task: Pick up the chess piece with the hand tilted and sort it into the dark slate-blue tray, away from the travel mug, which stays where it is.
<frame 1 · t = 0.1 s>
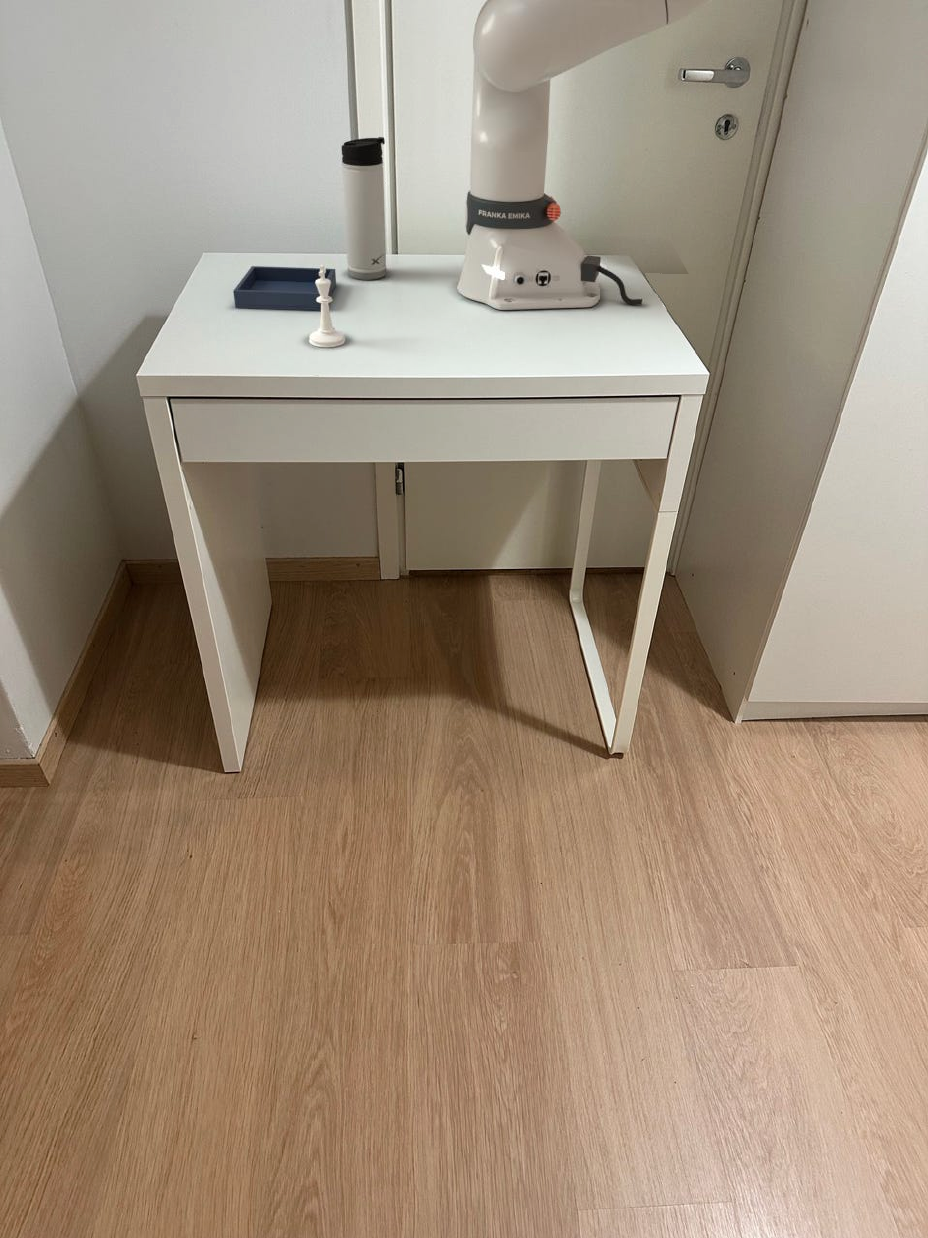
travel mug: (368, 275, 144), on the table
tray: (287, 295, 135), on the table
chess piece: (327, 342, 121), on the table
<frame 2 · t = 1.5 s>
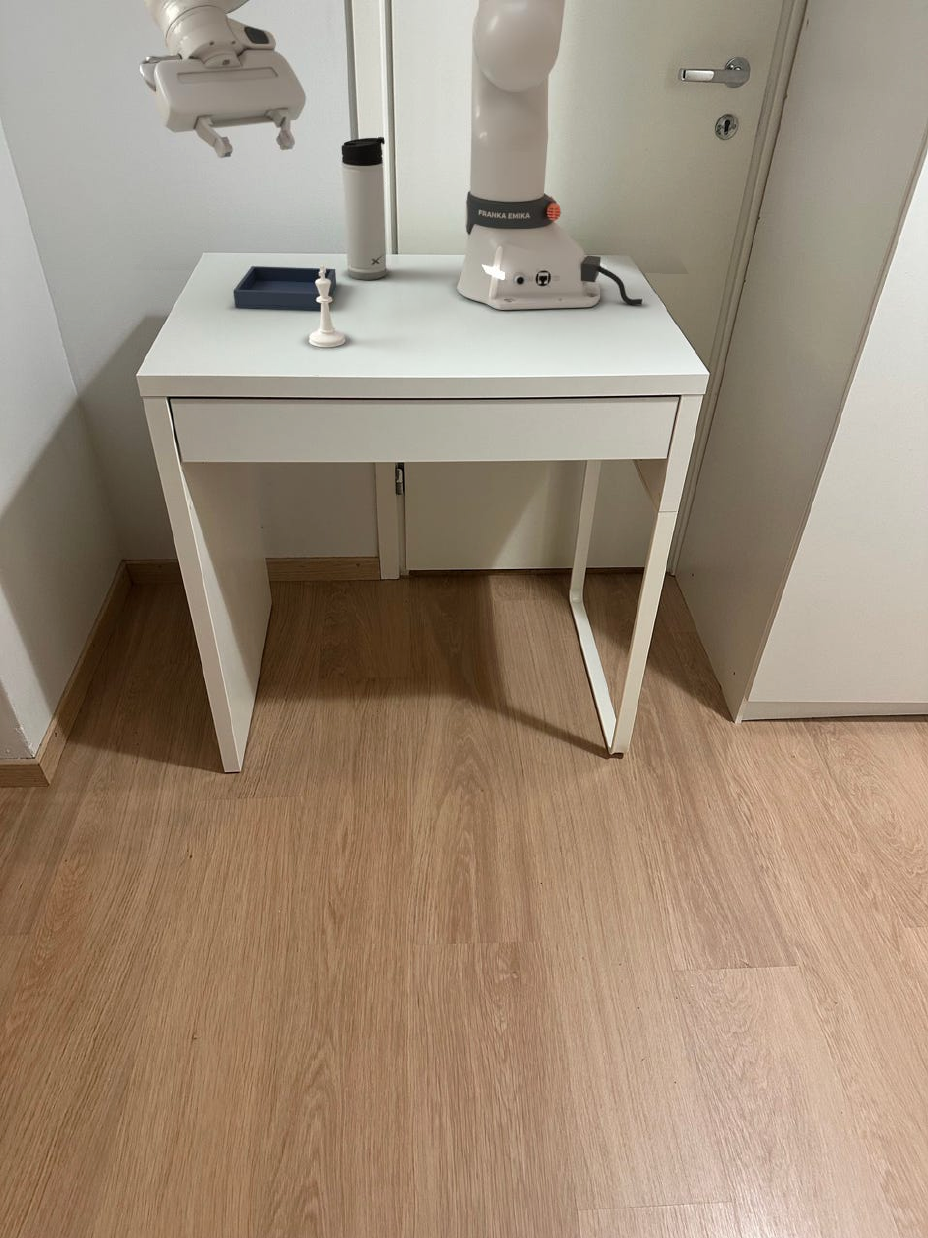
hand: (258, 150, 114), 22 cm above the table, tool tilted 45°, fingers open, 8 cm apart
nothing on the table moved.
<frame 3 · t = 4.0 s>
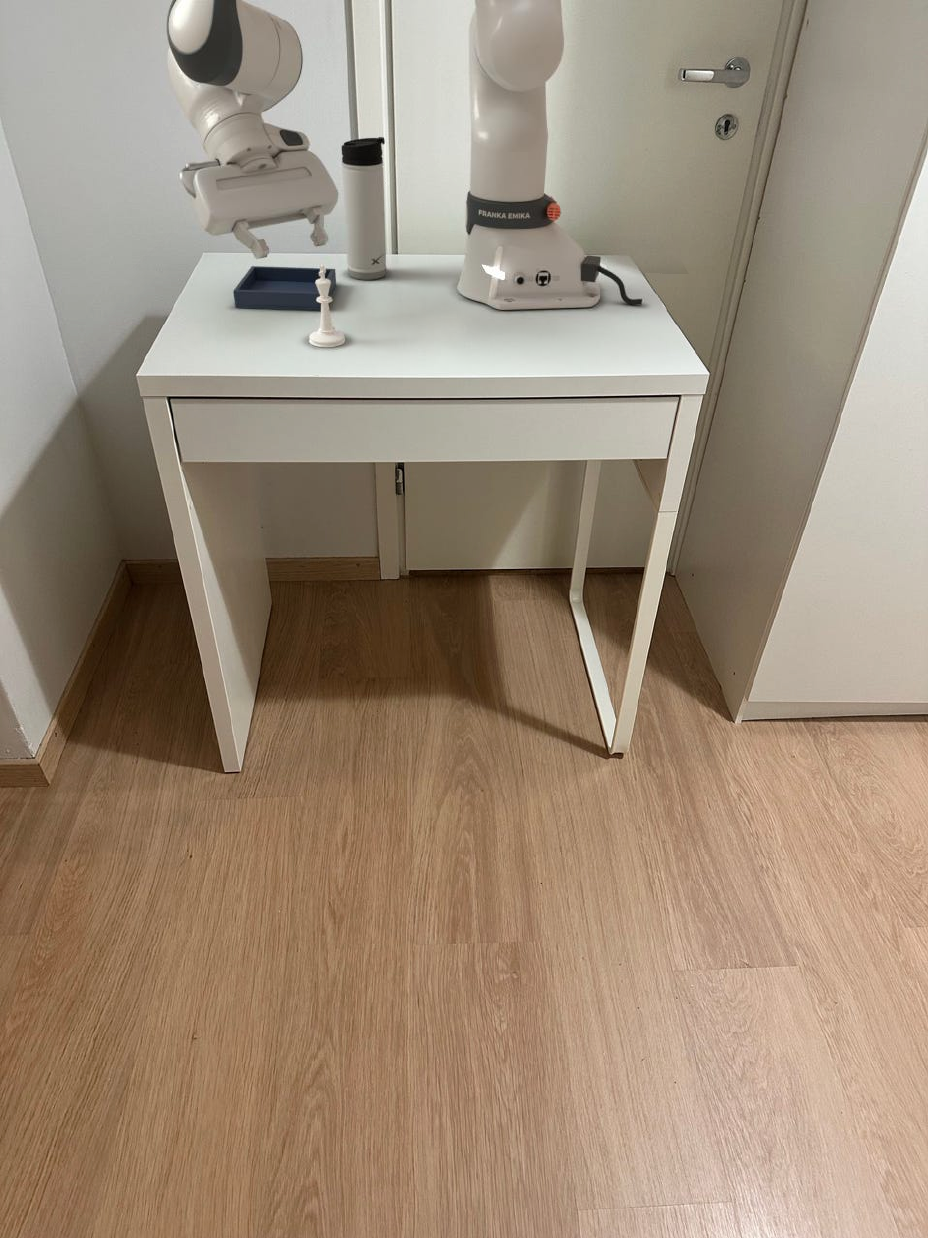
hand: (293, 249, 118), 11 cm above the table, tool tilted 45°, fingers open, 8 cm apart
nothing on the table moved.
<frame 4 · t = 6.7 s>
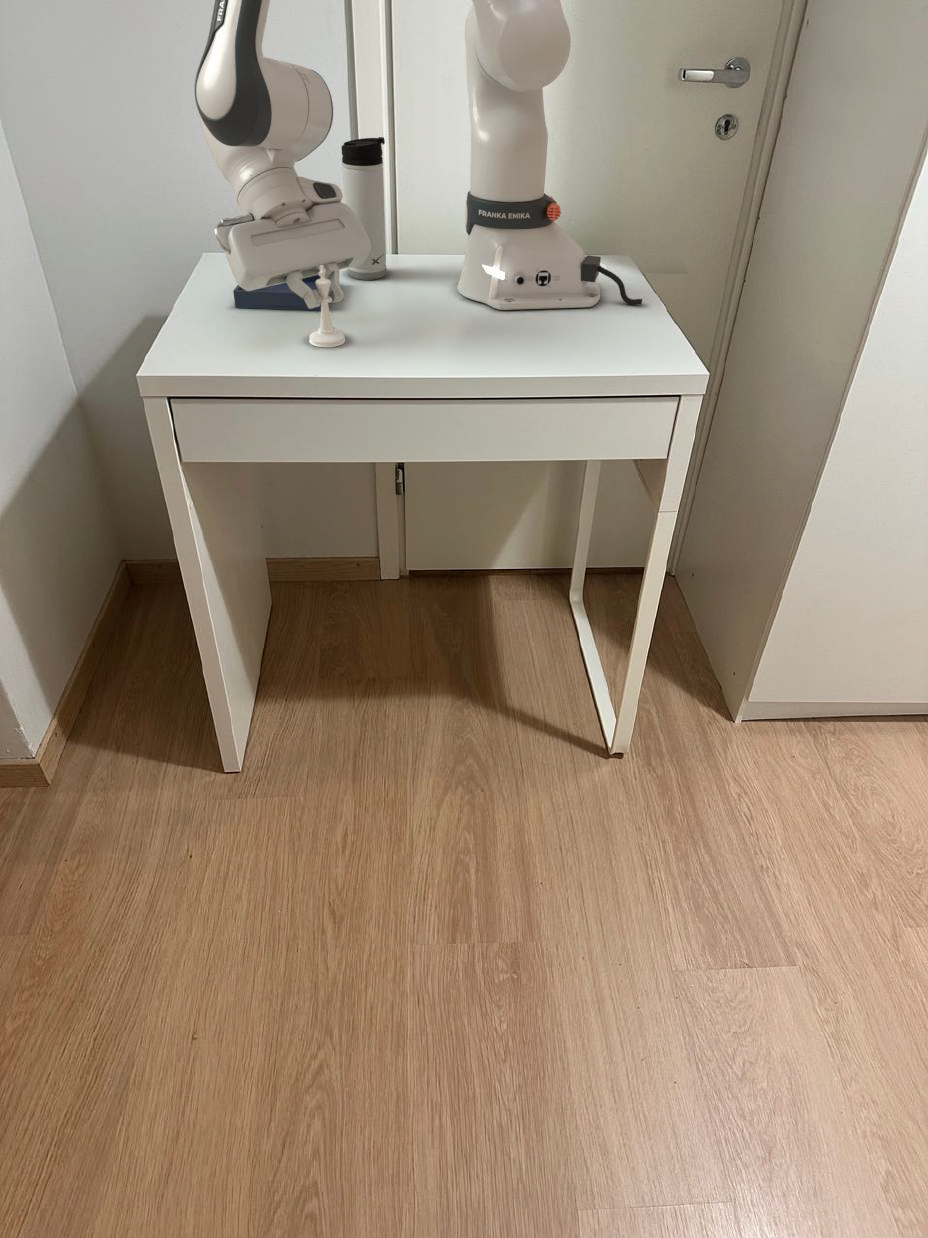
hand: (327, 302, 117), 5 cm above the table, tool tilted 45°, fingers closed on chess piece, 2 cm apart
chess piece: (327, 342, 121), on the table, touching gripper
everything else where it was.
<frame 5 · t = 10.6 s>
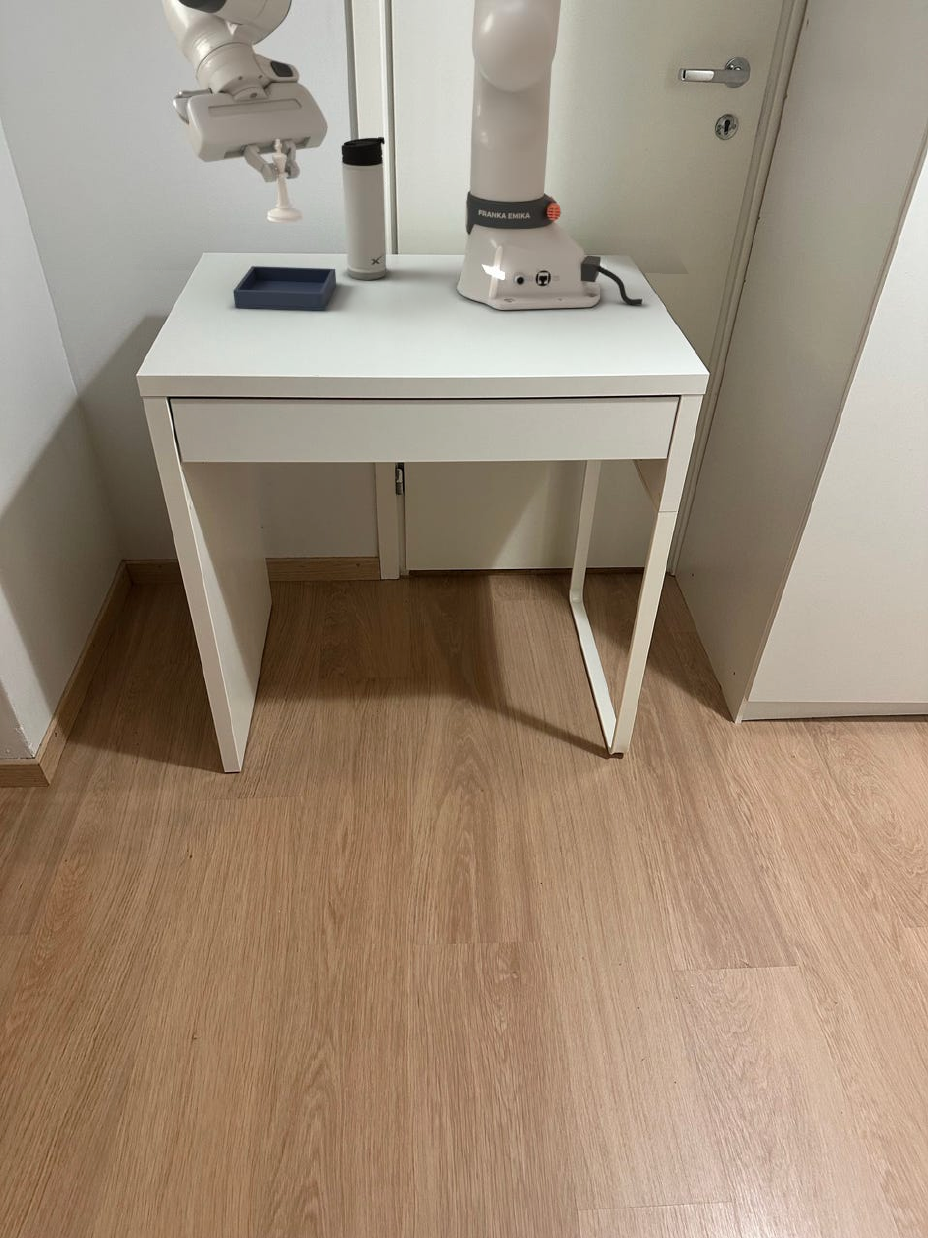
hand: (283, 177, 121), 17 cm above the table, tool tilted 45°, fingers closed on chess piece, 2 cm apart
chess piece: (285, 219, 125), point 12 cm above the table, touching gripper
everything else where it was.
when the fingers open (6 cm above the table, at t = 14.5 s): chess piece stays where it is, resting on tray.
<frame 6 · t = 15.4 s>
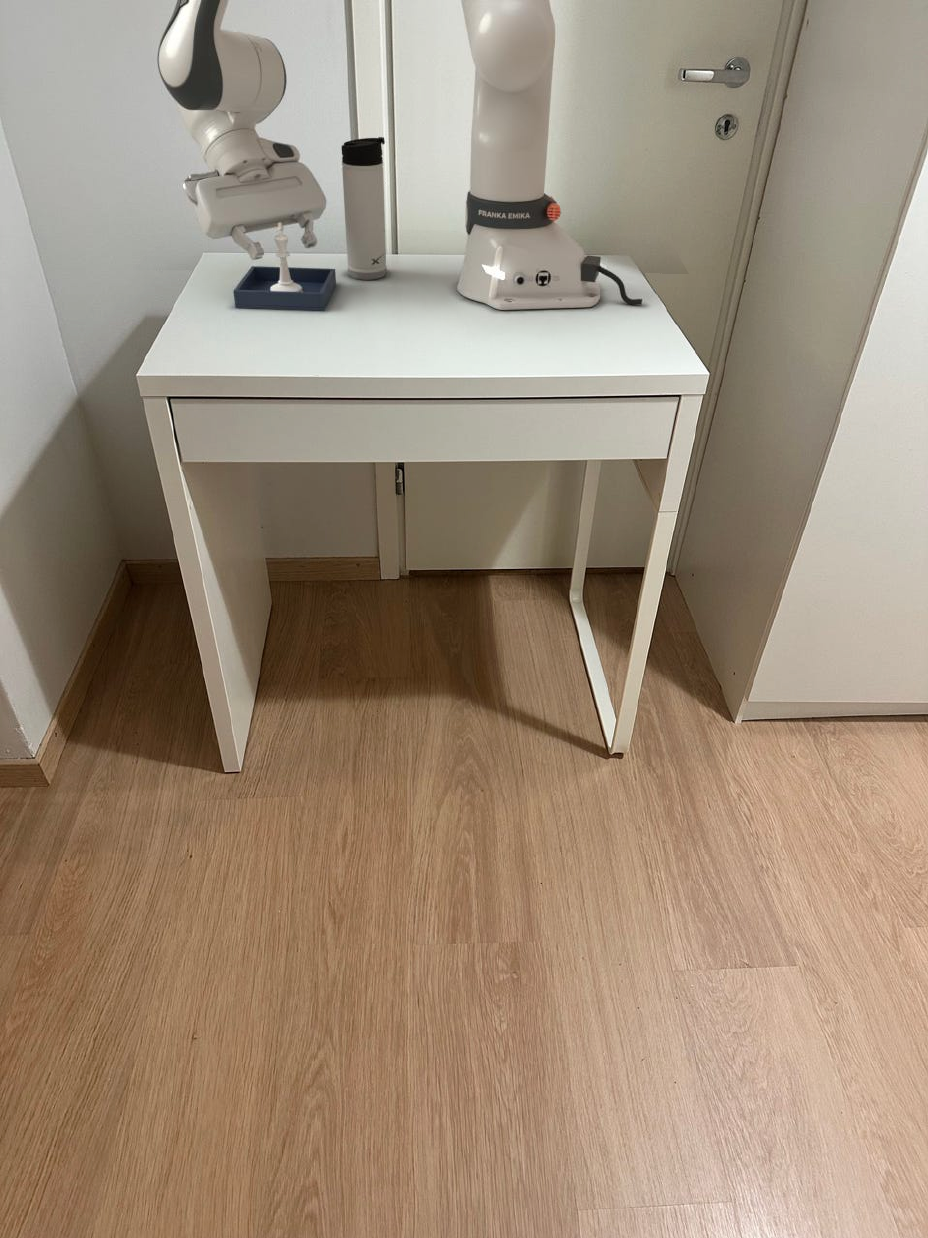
hand: (285, 251, 131), 7 cm above the table, tool tilted 45°, fingers open, 8 cm apart
chess piece: (286, 293, 135), resting on tray
everything else where it was.
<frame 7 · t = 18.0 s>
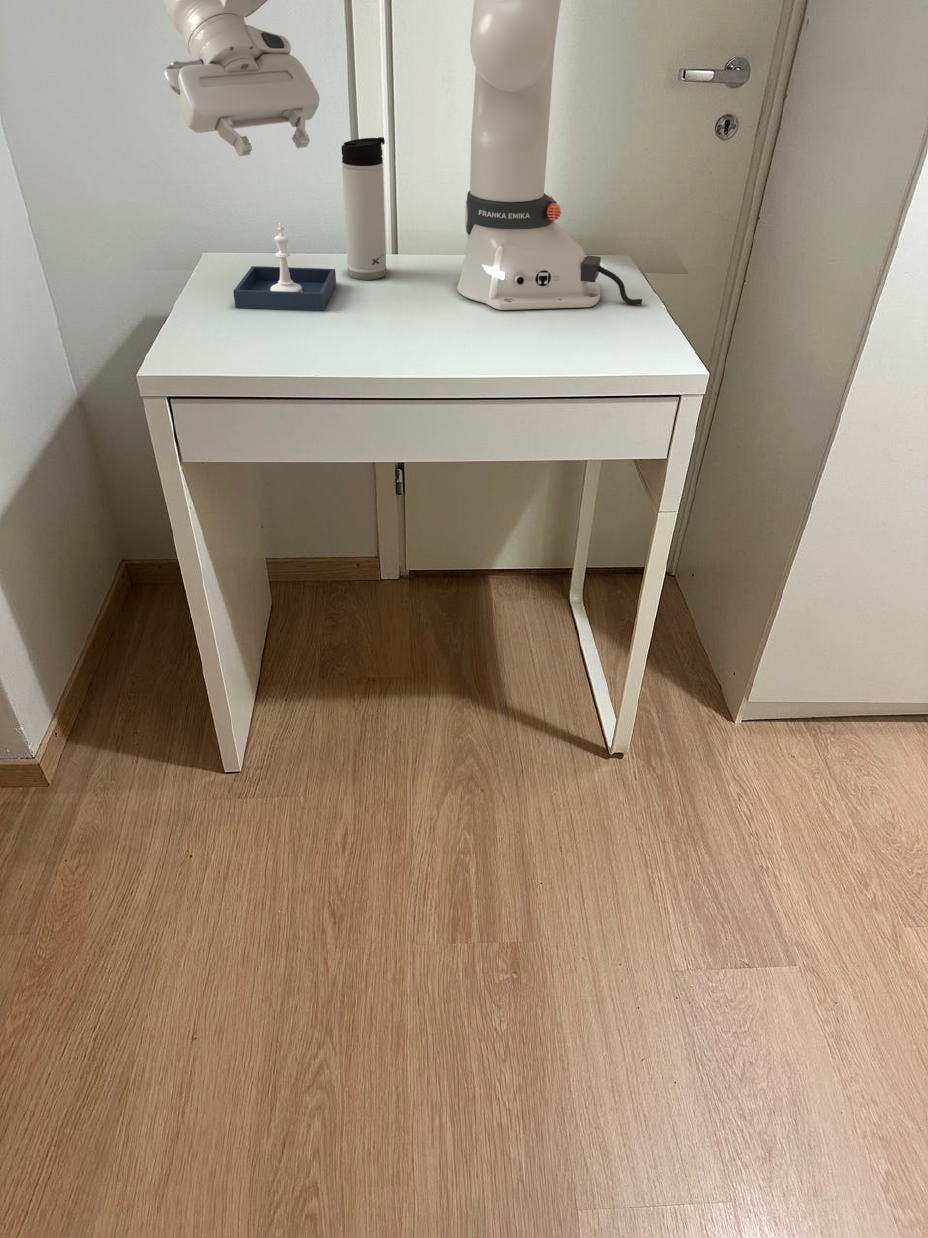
hand: (275, 148, 122), 20 cm above the table, tool tilted 45°, fingers open, 8 cm apart
nothing on the table moved.
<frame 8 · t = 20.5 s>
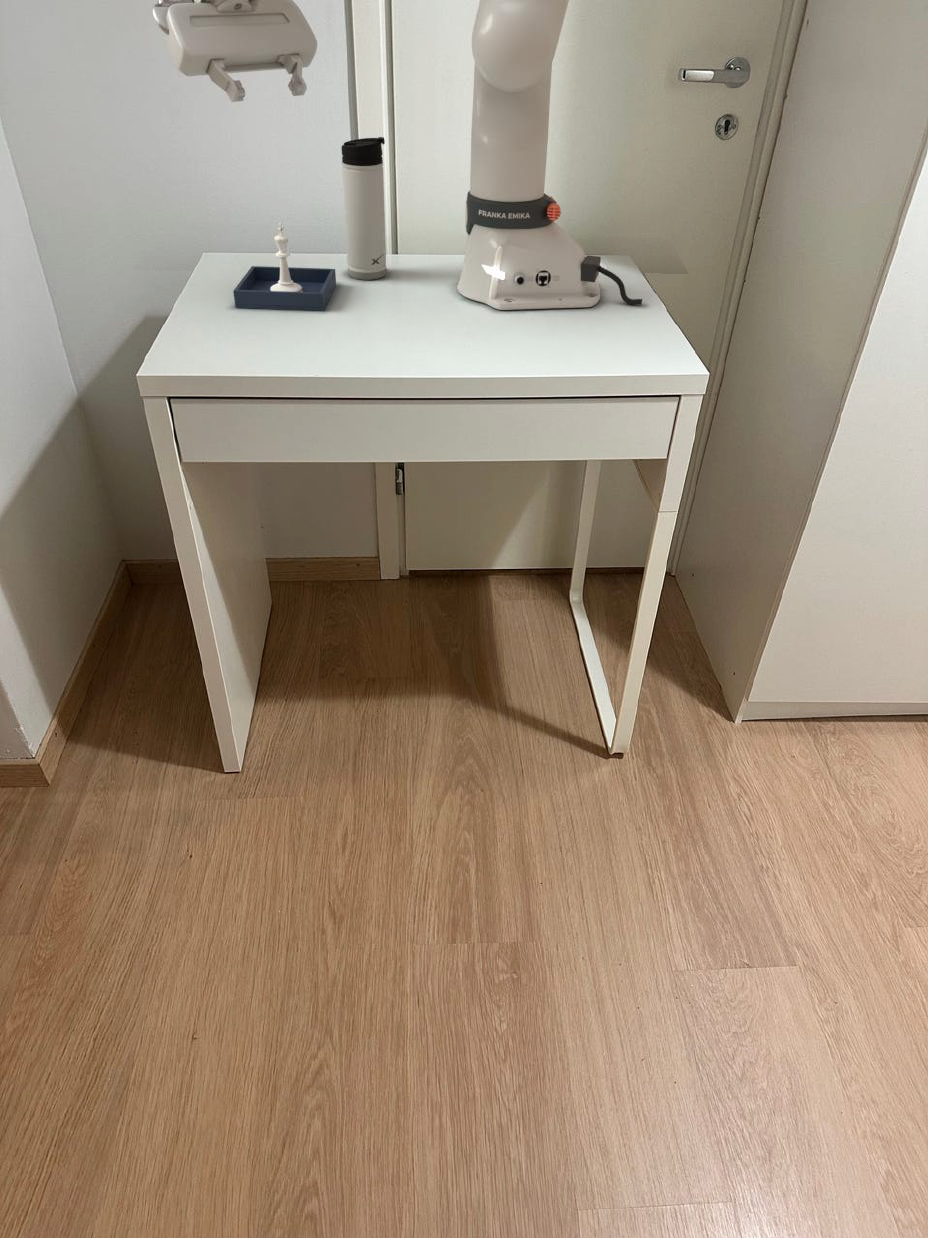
hand: (270, 95, 115), 27 cm above the table, tool tilted 45°, fingers open, 8 cm apart
nothing on the table moved.
at the end: chess piece inside the target area in the tray (0.1 cm from its centre), point 0.3 cm above the tray's base; chess piece tilted 0°; travel mug moved 0.2 cm from its start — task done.
